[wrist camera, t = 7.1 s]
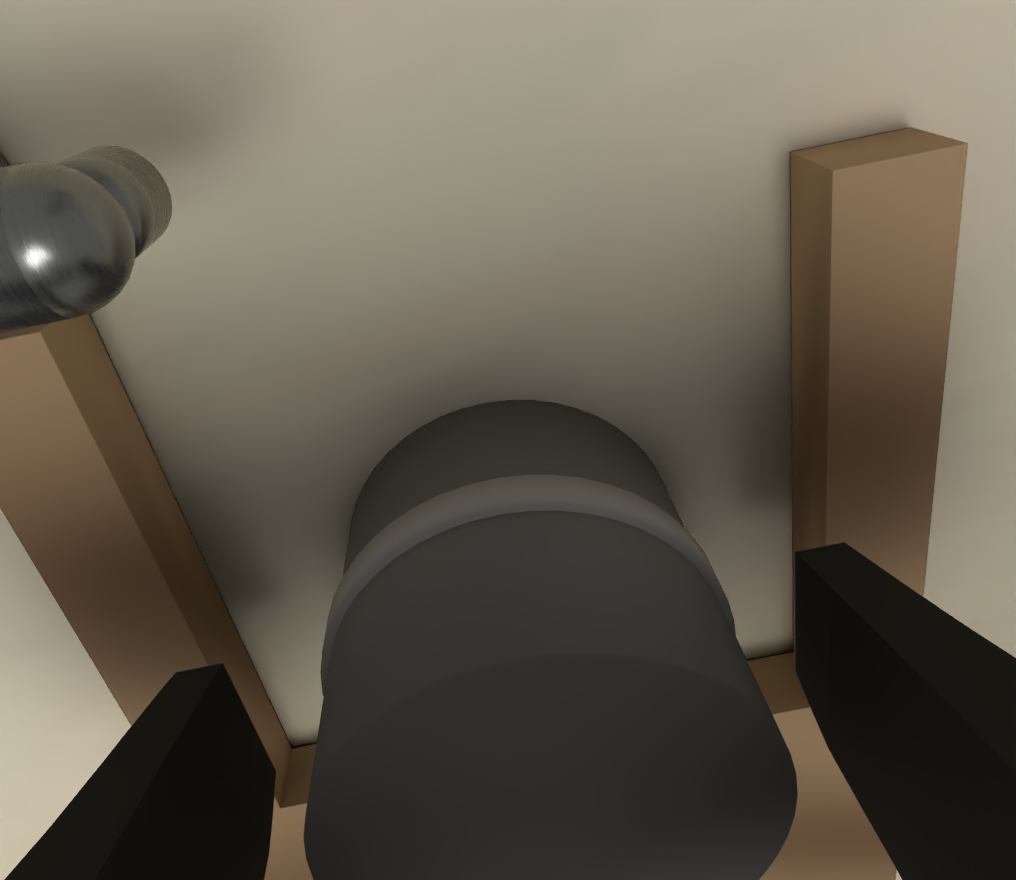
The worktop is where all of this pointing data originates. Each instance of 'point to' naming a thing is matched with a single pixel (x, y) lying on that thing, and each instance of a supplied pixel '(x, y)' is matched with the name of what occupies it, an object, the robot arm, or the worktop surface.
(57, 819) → the robot arm
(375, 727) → the grey flanged cylinder
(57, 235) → the hook
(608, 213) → the worktop surface
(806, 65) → the worktop surface
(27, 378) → the brown wooden u-shaped bracket
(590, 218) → the worktop surface
